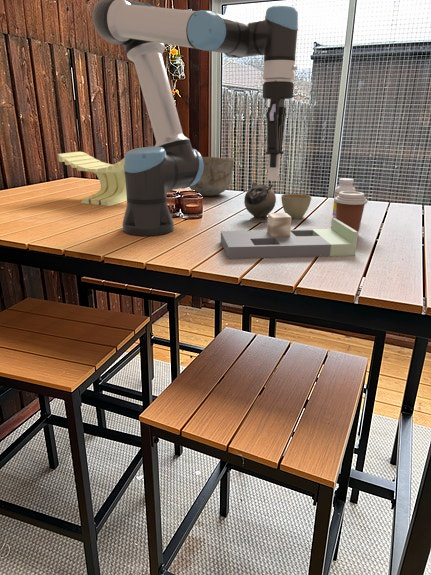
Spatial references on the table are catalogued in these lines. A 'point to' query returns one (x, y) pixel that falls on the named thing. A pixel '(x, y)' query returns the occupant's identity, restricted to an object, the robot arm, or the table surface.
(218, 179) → the bowl
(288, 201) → the flower pot
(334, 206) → the supplement bottle
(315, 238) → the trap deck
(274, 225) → the cream block
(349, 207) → the coffee cup
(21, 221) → the table surface
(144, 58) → the robot arm
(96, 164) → the slatted curved stool
